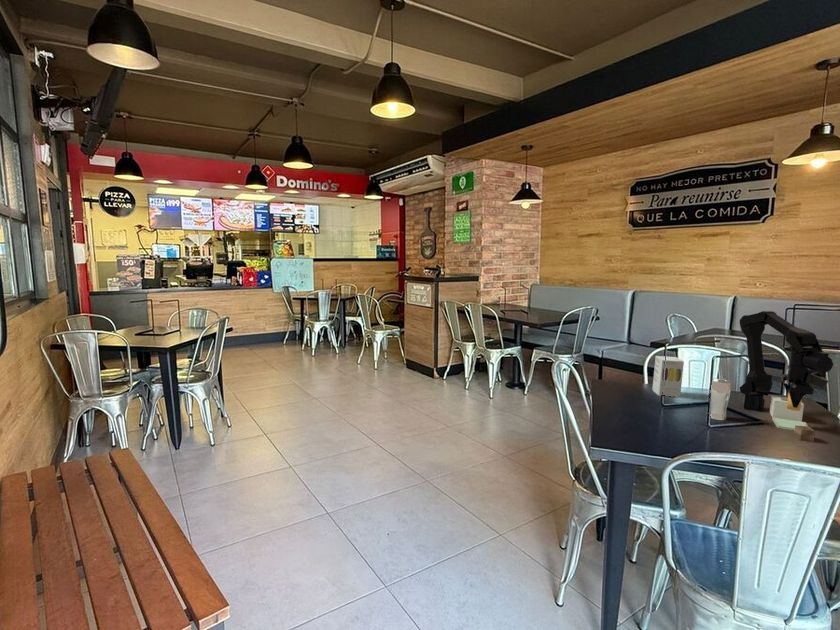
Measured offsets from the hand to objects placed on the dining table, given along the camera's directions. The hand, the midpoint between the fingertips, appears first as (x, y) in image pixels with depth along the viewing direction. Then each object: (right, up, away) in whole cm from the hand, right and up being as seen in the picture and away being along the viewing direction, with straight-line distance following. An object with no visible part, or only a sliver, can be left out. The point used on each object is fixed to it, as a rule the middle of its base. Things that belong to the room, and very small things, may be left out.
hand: (793, 405), depth 171 cm
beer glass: (-23, -7, +9) cm, 26 cm away
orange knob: (0, -1, 0) cm, 1 cm away
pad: (0, -8, +1) cm, 8 cm away
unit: (+5, -7, +11) cm, 13 cm away
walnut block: (-5, -10, -11) cm, 15 cm away
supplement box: (-27, -2, +39) cm, 48 cm away
